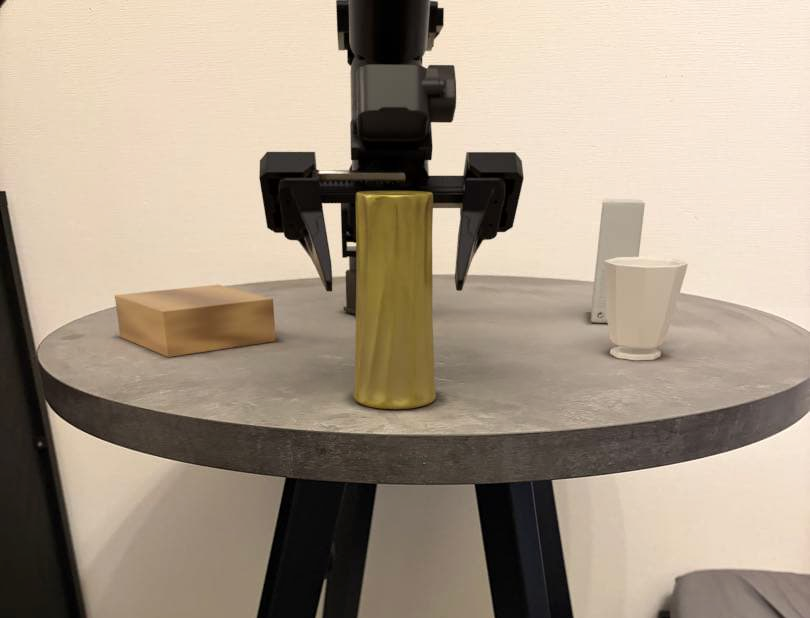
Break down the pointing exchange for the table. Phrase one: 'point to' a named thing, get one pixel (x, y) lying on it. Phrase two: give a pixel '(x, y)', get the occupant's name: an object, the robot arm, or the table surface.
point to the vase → (394, 300)
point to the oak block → (195, 319)
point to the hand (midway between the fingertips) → (394, 287)
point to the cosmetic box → (615, 244)
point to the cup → (641, 303)
